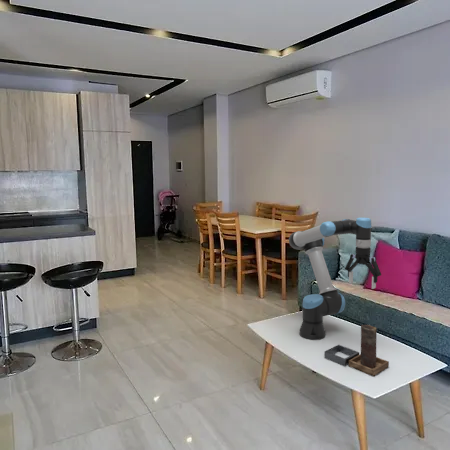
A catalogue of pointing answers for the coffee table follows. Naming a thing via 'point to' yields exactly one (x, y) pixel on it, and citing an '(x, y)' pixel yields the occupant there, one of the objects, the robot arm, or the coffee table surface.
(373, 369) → the tray
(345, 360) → the collar
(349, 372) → the coffee table surface
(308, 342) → the coffee table surface
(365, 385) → the coffee table surface
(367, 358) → the rusty brown cylinder
